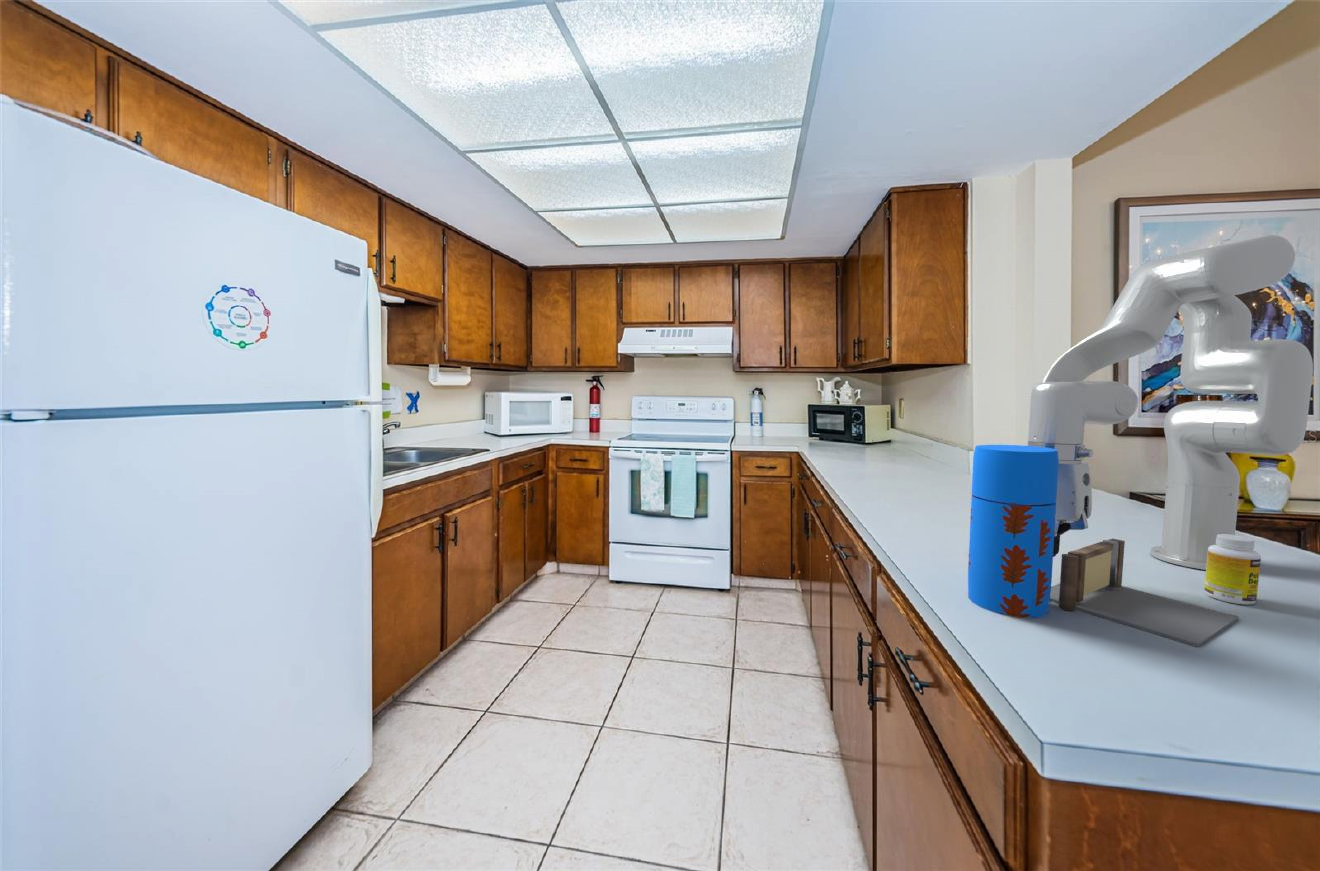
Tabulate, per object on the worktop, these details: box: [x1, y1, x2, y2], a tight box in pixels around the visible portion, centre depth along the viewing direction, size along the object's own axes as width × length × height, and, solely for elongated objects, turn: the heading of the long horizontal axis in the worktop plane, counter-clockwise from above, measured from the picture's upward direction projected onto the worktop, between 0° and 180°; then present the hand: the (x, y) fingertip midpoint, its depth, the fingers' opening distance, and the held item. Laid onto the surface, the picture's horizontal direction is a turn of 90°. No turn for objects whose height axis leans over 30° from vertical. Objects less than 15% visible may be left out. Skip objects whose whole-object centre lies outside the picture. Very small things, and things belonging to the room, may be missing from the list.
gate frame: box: [1049, 538, 1239, 648], centre depth 76 cm, size 18×19×8 cm
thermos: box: [967, 444, 1059, 619], centre depth 78 cm, size 11×11×25 cm
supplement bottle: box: [1204, 534, 1262, 606], centre depth 79 cm, size 6×6×10 cm
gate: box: [1067, 539, 1119, 602], centre depth 80 cm, size 14×2×8 cm, turn 118°
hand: (1046, 555), depth 87 cm, fingers closed
